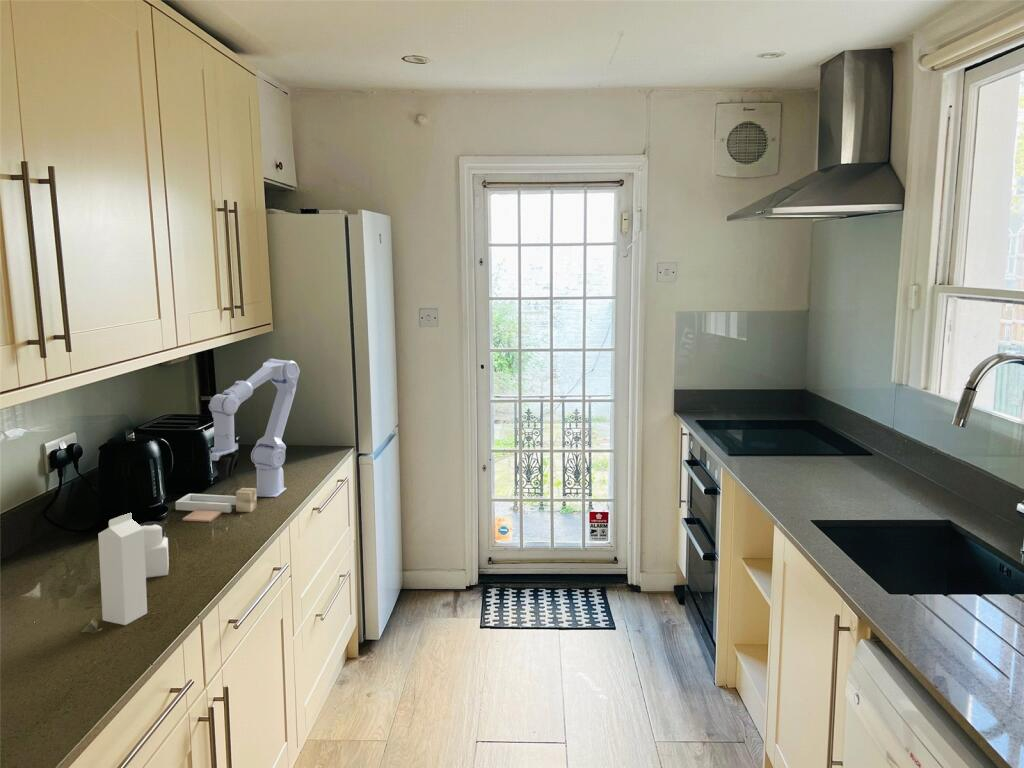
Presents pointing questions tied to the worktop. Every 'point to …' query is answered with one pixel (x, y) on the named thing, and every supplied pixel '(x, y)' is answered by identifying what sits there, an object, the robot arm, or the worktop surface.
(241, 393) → the robot arm
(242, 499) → the beech block
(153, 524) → the medicine bottle
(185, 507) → the channel
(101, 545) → the milk
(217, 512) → the coaster
